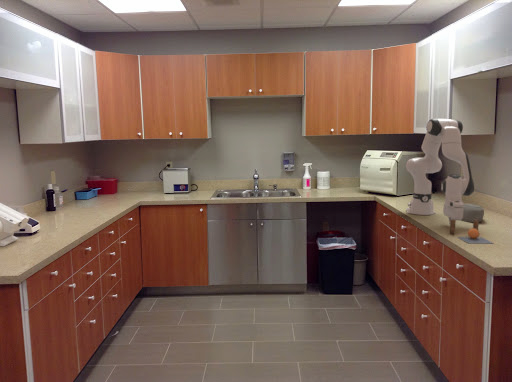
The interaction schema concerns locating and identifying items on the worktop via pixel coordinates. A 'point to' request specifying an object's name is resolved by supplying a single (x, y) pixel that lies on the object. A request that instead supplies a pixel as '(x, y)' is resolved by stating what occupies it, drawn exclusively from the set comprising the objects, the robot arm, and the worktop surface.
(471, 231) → the ball
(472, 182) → the robot arm
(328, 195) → the worktop surface
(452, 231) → the post
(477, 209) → the stone
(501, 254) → the worktop surface
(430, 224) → the worktop surface
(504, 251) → the worktop surface
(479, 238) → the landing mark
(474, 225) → the post
